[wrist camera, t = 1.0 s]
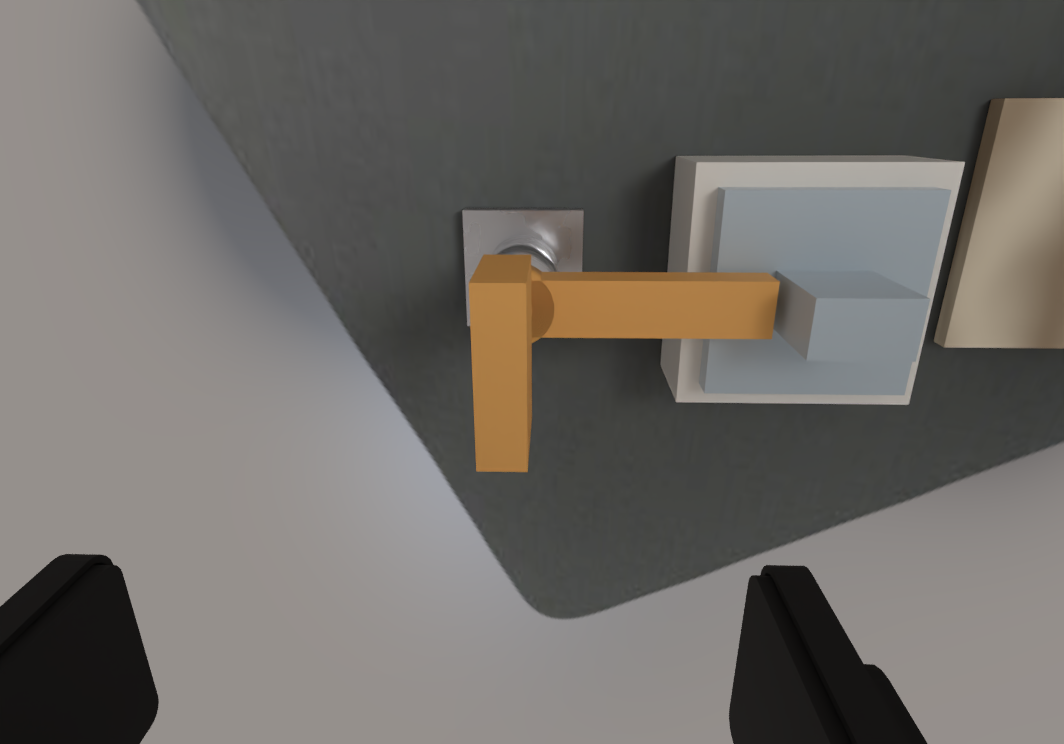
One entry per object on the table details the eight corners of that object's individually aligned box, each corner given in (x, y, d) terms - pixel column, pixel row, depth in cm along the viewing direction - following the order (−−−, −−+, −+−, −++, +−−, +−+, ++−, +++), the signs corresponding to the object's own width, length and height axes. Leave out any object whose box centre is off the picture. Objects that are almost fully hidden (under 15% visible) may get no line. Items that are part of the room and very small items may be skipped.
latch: (773, 228, 26) (882, 284, 18) (755, 366, 28) (843, 476, 20) (477, 228, 27) (440, 282, 18) (482, 363, 29) (450, 471, 20)
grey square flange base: (582, 207, 33) (589, 228, 27) (579, 321, 35) (585, 363, 29) (465, 207, 33) (444, 228, 27) (469, 320, 35) (451, 362, 29)
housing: (904, 155, 31) (965, 162, 27) (862, 366, 35) (908, 404, 31) (676, 155, 32) (696, 162, 27) (660, 365, 36) (676, 402, 31)
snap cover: (934, 187, 27) (1027, 203, 22) (891, 384, 30) (962, 441, 25) (718, 186, 27) (757, 203, 22) (699, 383, 31) (728, 438, 25)
